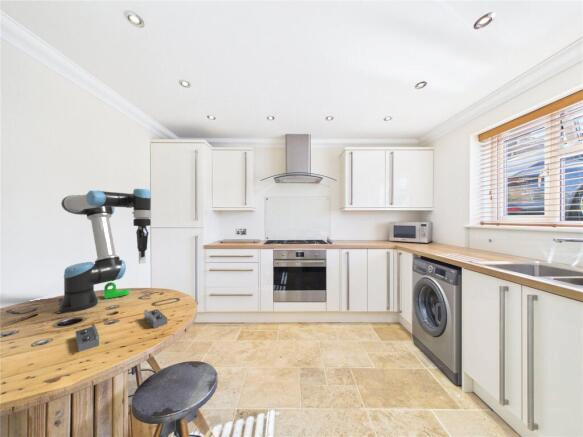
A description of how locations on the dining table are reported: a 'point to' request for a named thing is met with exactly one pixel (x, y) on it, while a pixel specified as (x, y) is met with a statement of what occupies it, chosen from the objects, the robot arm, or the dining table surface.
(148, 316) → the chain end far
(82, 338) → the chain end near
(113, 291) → the mechanical part
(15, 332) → the dining table surface
